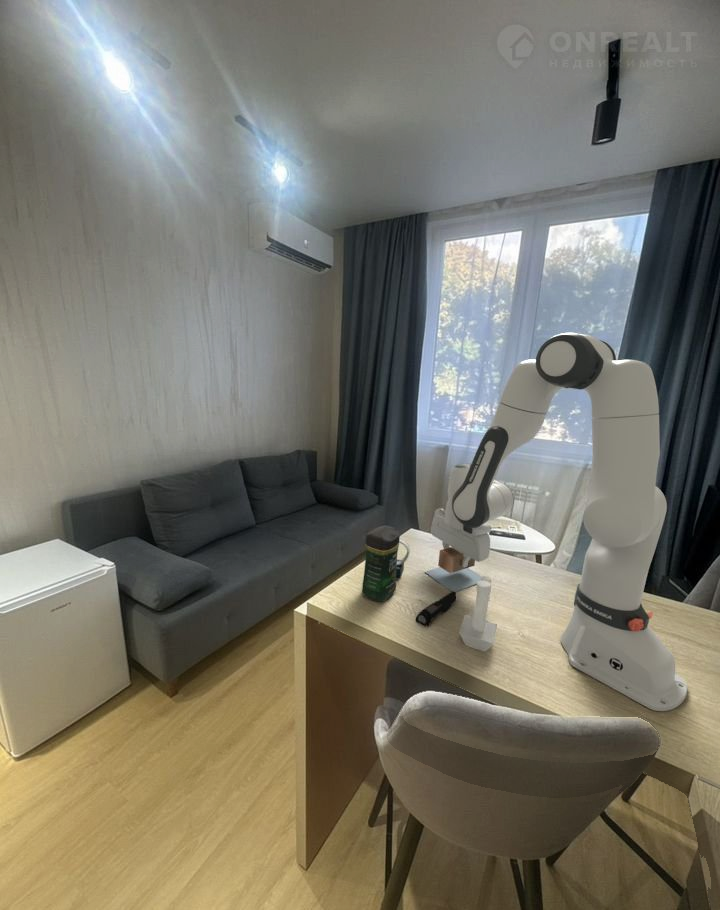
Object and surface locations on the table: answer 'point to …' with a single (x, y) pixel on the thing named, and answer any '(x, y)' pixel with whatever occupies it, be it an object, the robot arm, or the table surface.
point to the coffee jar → (380, 563)
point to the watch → (401, 562)
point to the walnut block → (452, 560)
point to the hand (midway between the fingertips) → (455, 561)
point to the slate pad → (455, 578)
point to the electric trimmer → (436, 609)
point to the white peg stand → (479, 620)
